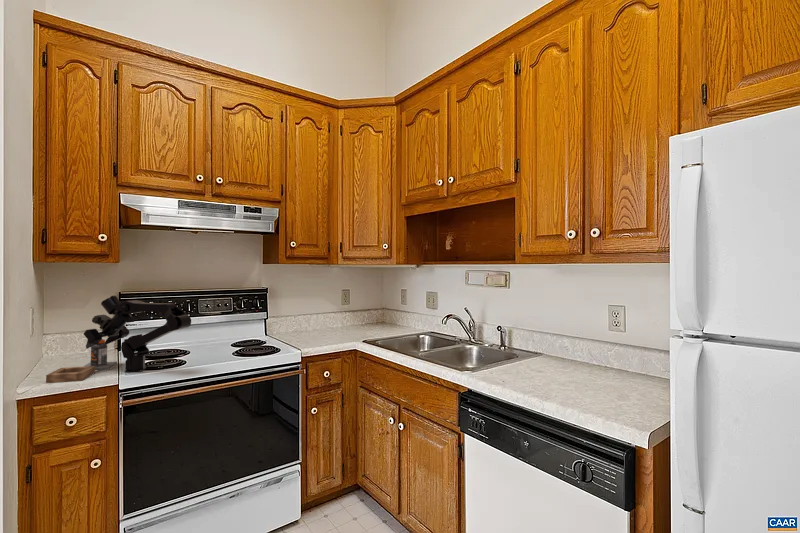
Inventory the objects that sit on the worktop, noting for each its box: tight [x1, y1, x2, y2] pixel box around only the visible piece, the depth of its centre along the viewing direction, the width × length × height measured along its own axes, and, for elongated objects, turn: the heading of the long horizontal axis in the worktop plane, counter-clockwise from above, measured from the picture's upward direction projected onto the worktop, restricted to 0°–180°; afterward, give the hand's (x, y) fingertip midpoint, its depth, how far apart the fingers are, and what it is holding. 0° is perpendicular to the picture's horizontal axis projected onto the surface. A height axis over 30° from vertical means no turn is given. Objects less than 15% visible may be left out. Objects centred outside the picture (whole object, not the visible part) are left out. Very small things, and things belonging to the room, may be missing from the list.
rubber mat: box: [82, 361, 118, 371], centre depth 184 cm, size 11×11×1 cm
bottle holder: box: [45, 366, 96, 384], centre depth 167 cm, size 12×12×3 cm
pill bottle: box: [90, 338, 108, 366], centre depth 184 cm, size 6×6×11 cm
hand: (96, 345), depth 184 cm, fingers open, 9 cm apart
